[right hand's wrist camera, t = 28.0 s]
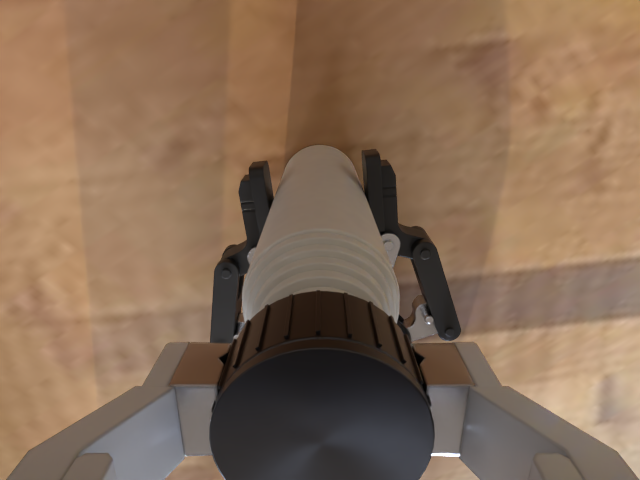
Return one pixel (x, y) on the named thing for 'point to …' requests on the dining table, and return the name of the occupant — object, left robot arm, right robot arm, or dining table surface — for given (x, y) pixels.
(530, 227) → the dining table surface
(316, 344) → the cap
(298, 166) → the bottle
